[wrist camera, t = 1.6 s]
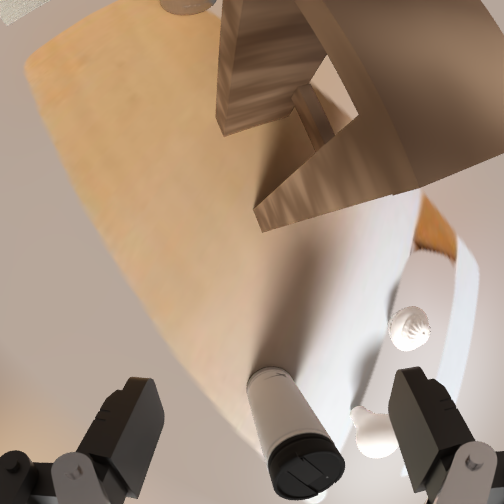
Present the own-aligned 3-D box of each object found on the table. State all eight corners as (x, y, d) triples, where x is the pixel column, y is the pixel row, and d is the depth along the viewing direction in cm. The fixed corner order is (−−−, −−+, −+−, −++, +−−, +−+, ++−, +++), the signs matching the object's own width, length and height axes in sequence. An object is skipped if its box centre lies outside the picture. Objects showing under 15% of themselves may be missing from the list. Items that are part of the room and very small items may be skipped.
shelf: (211, 118, 39) (224, -109, 7) (282, 96, 40) (388, -97, 8) (258, 234, 40) (419, 188, 8) (330, 205, 41) (550, 133, 9)
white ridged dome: (371, 332, 42) (397, 346, 35) (393, 294, 42) (421, 302, 35) (399, 351, 43) (426, 365, 36) (420, 314, 43) (449, 324, 36)
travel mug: (272, 355, 40) (321, 437, 20) (302, 388, 41) (362, 475, 21) (234, 384, 40) (254, 482, 20) (265, 415, 40) (302, 515, 20)
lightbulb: (332, 403, 41) (363, 441, 30) (369, 385, 42) (408, 418, 31) (340, 433, 42) (370, 474, 31) (376, 416, 42) (412, 451, 31)
